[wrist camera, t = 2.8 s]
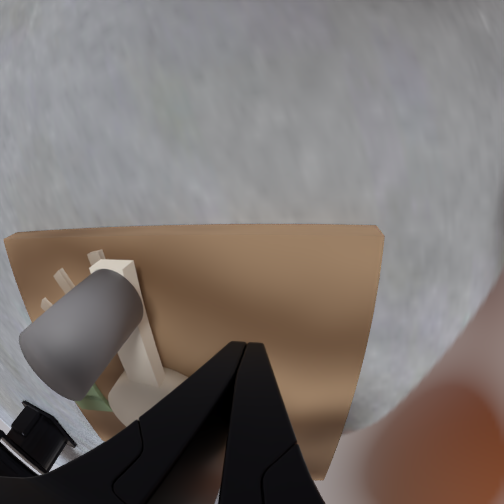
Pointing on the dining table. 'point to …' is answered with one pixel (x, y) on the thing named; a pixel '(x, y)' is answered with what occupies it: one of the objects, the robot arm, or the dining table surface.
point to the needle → (100, 342)
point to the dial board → (231, 306)
